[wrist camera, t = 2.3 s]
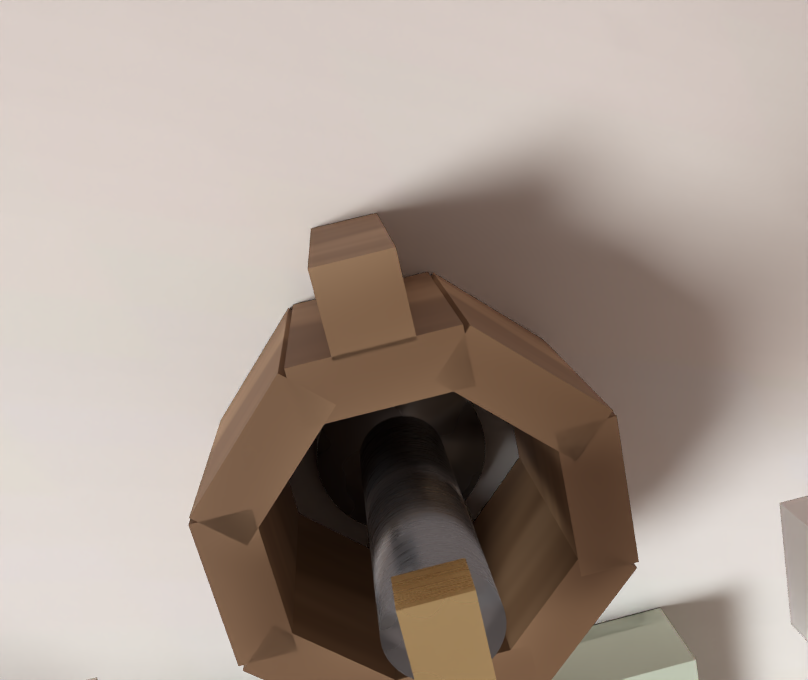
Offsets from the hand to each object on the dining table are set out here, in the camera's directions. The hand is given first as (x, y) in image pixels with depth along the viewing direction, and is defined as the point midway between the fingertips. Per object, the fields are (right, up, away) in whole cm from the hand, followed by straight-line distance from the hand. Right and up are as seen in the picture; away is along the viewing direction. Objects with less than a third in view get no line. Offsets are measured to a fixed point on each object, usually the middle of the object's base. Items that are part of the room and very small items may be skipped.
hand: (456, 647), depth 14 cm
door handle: (-1, +3, +8) cm, 9 cm away
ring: (-1, +3, +8) cm, 9 cm away
